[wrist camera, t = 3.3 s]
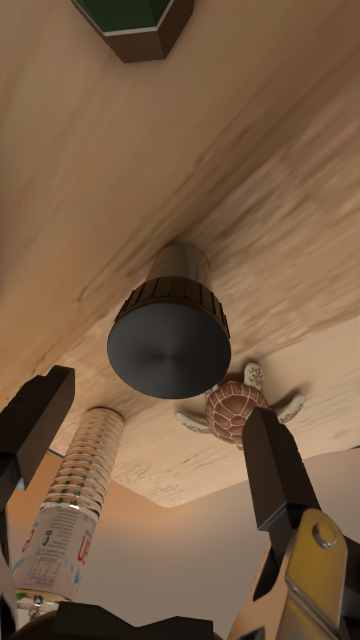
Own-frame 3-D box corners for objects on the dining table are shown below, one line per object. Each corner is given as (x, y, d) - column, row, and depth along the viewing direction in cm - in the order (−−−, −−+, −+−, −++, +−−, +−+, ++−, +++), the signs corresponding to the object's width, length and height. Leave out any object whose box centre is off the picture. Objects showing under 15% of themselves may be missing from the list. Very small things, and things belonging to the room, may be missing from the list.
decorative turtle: (189, 441, 41) (189, 472, 36) (159, 371, 33) (154, 400, 28) (301, 429, 37) (315, 462, 33) (299, 347, 29) (317, 376, 25)
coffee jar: (149, 244, 24) (106, 309, 12) (207, 238, 23) (219, 299, 12) (159, 297, 27) (131, 388, 15) (210, 292, 26) (223, 383, 15)
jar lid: (110, 280, 15) (88, 307, 12) (223, 269, 14) (231, 294, 11) (135, 365, 18) (123, 402, 15) (226, 359, 17) (233, 398, 14)
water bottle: (97, 399, 36) (-43, 717, 15) (134, 419, 38) (56, 725, 17) (76, 419, 39) (-66, 710, 18) (111, 437, 41) (21, 717, 20)
